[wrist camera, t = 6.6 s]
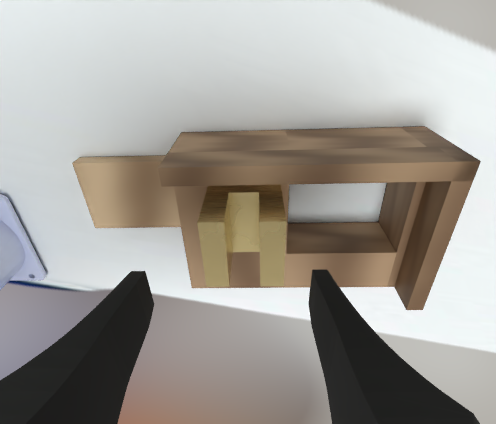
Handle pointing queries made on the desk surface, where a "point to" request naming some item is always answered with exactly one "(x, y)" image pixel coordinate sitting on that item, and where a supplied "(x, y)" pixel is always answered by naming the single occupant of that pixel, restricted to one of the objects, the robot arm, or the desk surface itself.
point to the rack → (288, 172)
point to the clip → (243, 231)
